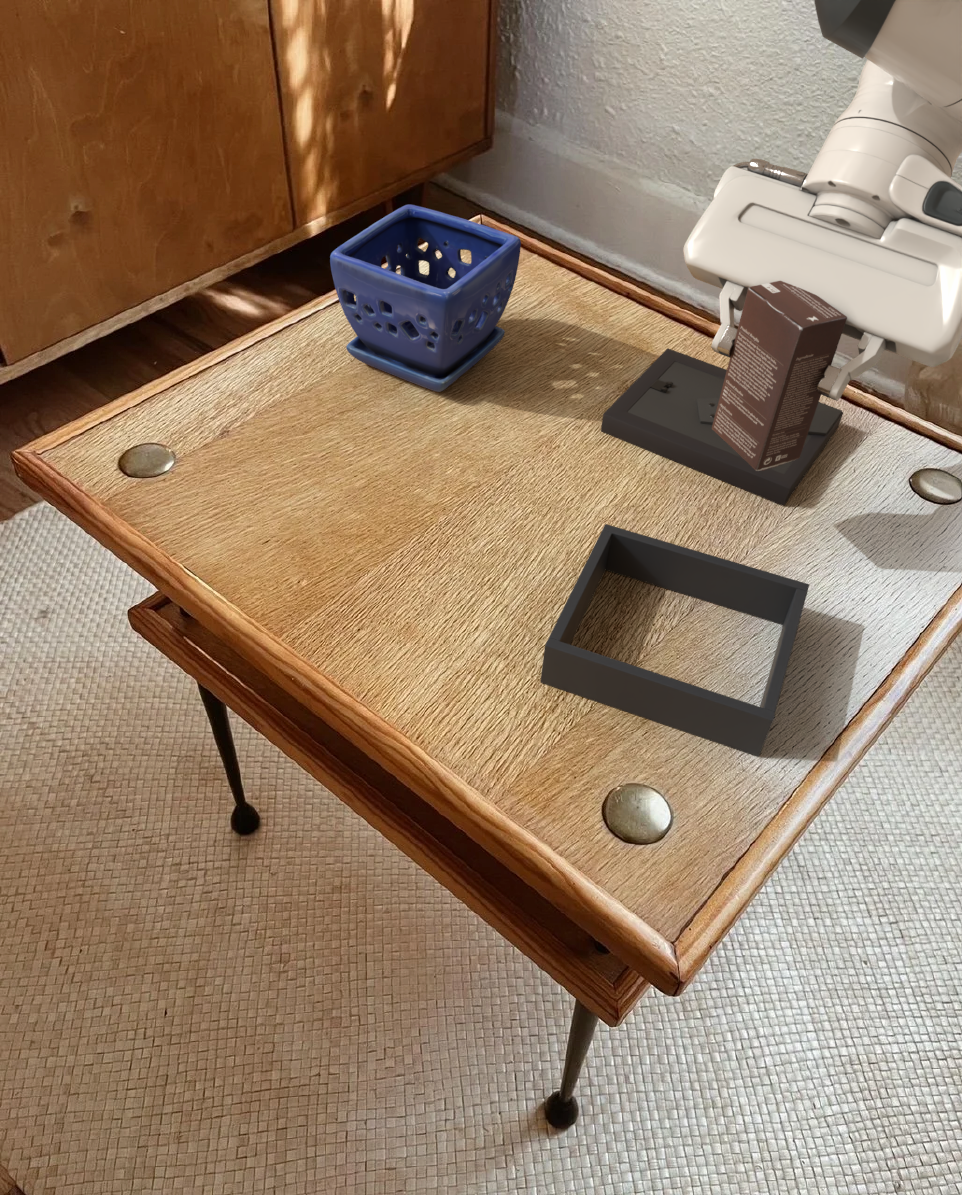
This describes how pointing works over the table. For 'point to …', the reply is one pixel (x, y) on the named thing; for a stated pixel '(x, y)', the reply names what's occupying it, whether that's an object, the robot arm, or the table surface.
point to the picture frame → (704, 426)
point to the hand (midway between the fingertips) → (773, 374)
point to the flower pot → (425, 294)
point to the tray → (658, 692)
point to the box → (776, 373)
